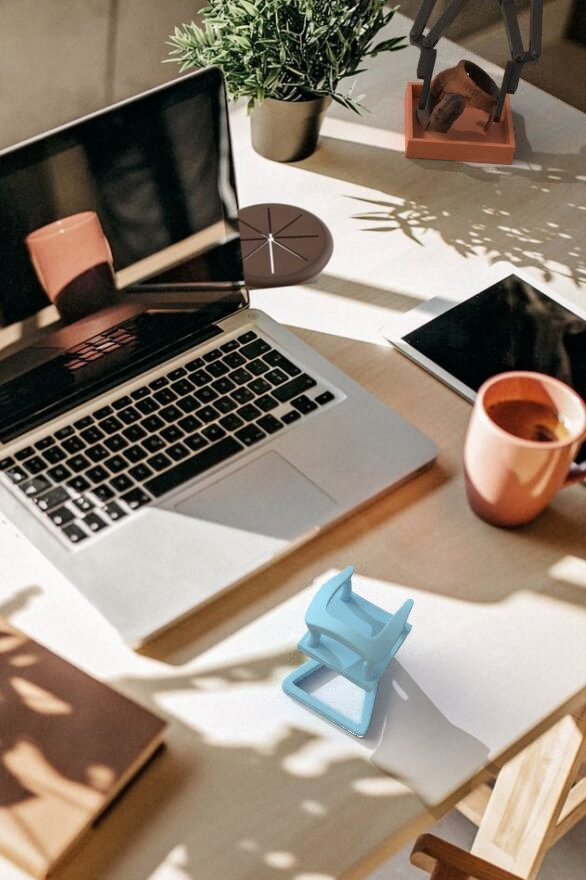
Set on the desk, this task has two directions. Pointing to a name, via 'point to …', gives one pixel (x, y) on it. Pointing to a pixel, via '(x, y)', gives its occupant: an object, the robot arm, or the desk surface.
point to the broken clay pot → (458, 96)
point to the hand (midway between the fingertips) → (459, 113)
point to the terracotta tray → (459, 134)
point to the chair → (348, 644)
